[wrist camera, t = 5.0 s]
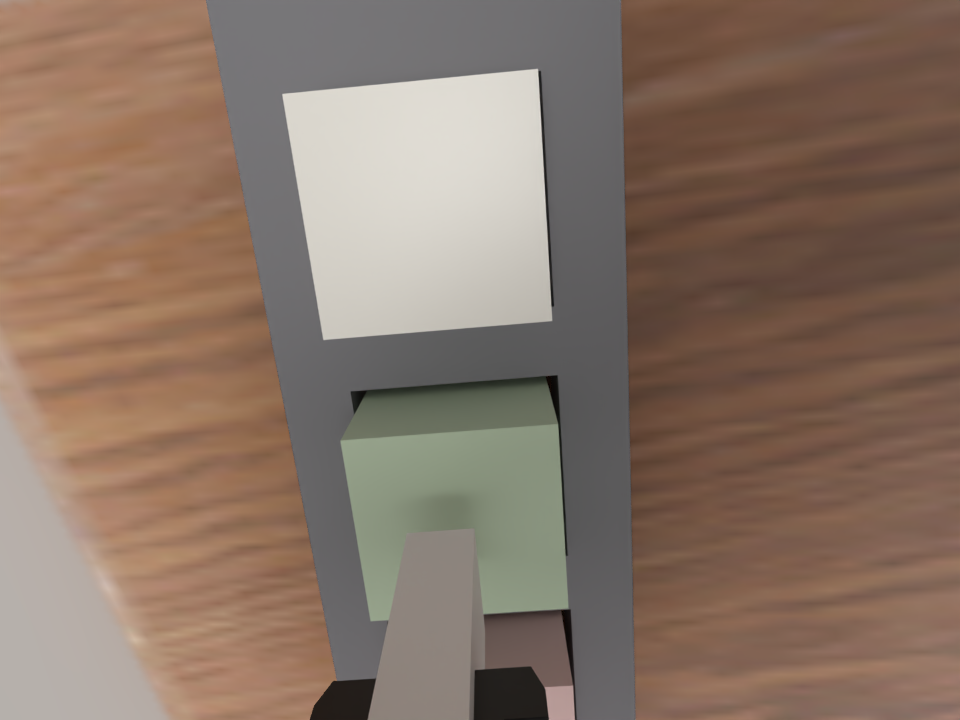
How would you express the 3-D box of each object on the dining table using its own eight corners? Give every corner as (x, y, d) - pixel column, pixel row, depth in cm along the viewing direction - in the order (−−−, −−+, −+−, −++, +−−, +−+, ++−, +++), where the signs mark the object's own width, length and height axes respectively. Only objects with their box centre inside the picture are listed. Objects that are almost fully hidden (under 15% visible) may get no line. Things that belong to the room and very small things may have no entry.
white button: (328, 109, 17) (281, 94, 13) (526, 90, 17) (537, 68, 13) (357, 304, 19) (323, 340, 15) (539, 288, 19) (552, 321, 15)
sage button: (369, 386, 20) (340, 440, 16) (544, 372, 19) (558, 424, 15) (392, 538, 21) (370, 621, 17) (553, 527, 21) (568, 608, 17)
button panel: (249, 18, 18) (204, -10, 15) (598, -18, 18) (619, -53, 15) (377, 745, 26) (363, 816, 23) (620, 731, 26) (637, 802, 23)
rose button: (401, 603, 22) (383, 696, 18) (558, 593, 22) (572, 685, 18) (419, 725, 23) (406, 835, 20) (565, 717, 23) (580, 826, 19)
